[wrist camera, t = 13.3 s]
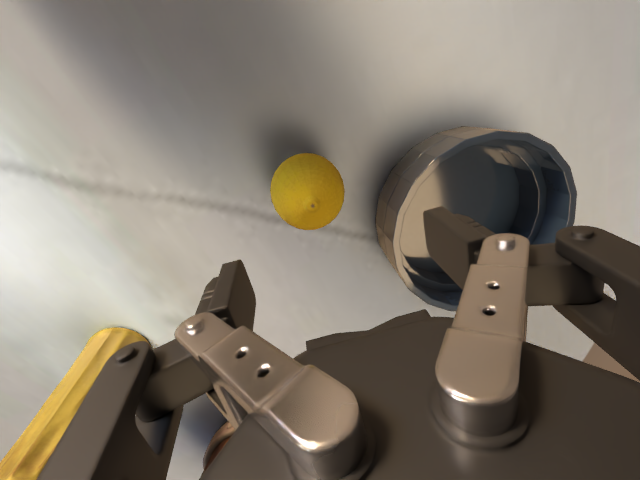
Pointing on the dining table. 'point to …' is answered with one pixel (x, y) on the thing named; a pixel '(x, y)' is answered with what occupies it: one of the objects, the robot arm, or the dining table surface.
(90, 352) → the vase
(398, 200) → the bowl
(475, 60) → the dining table surface
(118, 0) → the dining table surface
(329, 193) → the lemon
